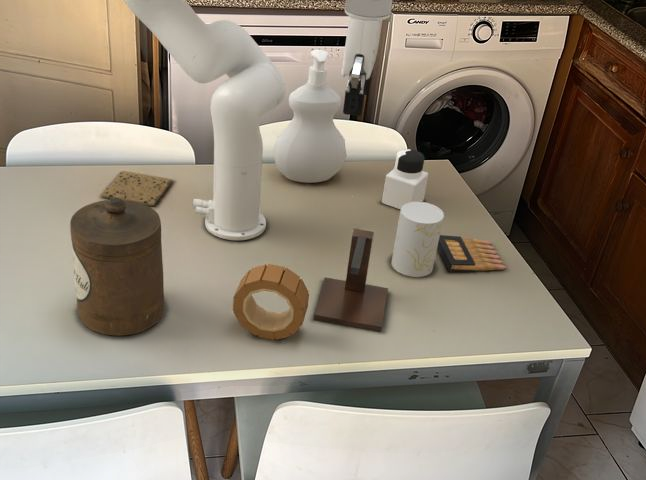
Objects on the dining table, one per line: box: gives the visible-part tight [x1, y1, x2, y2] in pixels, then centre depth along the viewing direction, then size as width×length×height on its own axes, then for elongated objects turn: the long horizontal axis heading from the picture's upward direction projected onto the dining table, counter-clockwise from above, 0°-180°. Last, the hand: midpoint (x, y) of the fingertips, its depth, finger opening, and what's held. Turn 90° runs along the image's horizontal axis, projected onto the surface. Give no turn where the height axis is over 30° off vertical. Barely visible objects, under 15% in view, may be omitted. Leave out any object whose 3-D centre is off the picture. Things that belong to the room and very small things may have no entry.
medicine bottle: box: [381, 148, 429, 211], centre depth 177 cm, size 7×7×12 cm
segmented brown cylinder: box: [232, 263, 310, 341], centre depth 137 cm, size 12×5×12 cm, turn 78°
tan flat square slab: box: [101, 170, 173, 207], centre depth 178 cm, size 12×12×1 cm
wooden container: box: [69, 197, 165, 337], centre depth 136 cm, size 15×15×22 cm
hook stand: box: [313, 228, 389, 333], centre depth 144 cm, size 12×13×13 cm
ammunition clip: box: [437, 234, 508, 273], centre depth 163 cm, size 11×2×12 cm
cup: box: [390, 201, 445, 278], centre depth 157 cm, size 8×8×12 cm
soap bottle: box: [272, 49, 347, 184], centre depth 180 cm, size 17×12×29 cm
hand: (355, 103), depth 142 cm, fingers open, 9 cm apart
